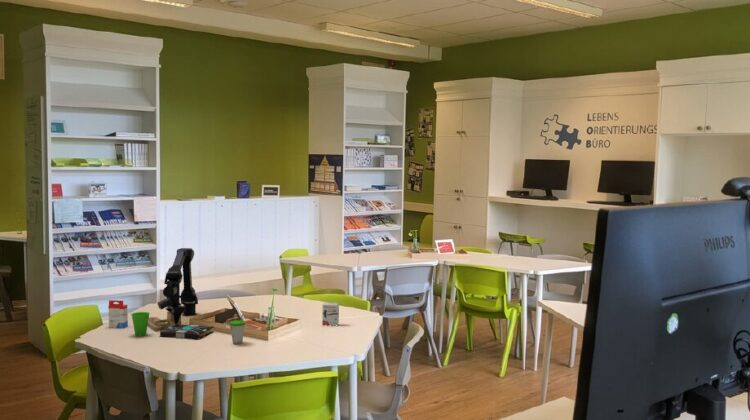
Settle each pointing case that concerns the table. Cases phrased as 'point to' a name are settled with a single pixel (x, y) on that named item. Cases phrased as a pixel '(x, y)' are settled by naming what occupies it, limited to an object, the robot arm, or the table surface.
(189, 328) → the book
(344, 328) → the table surface
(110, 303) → the ink box
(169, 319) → the wooden mallet
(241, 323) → the cup
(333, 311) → the ink box
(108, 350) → the table surface
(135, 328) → the cup
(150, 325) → the board
